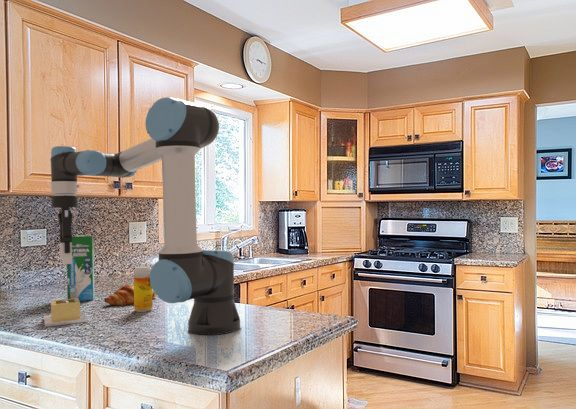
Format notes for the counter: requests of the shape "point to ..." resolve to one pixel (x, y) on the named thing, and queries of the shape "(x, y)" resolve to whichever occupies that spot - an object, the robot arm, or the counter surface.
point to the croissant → (123, 296)
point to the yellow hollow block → (65, 309)
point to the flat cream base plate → (49, 321)
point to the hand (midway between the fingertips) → (65, 261)
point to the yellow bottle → (142, 289)
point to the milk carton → (81, 269)
